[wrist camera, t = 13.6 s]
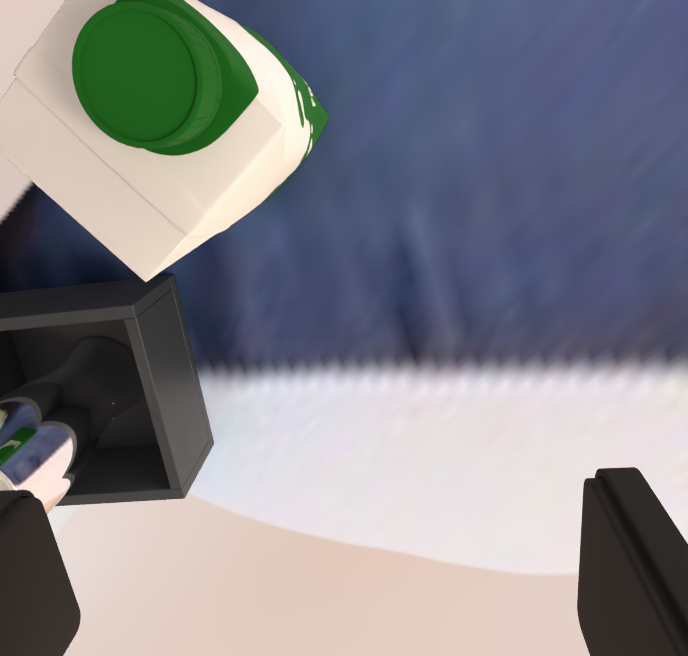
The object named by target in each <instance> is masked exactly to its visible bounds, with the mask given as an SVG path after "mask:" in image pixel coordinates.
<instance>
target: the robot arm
mask: <svg viewBox="0 0 688 656" xmlns="http://www.w3.org/2000/svg"><path fill="white" fill-rule="evenodd" d="M577 609H578V617H579V623H580V627H581V630H582V633H583V636H584V639H585V642H586V645H587V648H588V651H589V653H590V656H688V544H687V542H686V541H685V539H684V538H683V536H682V535H681V533H680V532H679V530H678V529H677V527H676V526H675V524H674V523H673V521H672V520H671V518H670V517H669V515H668V513H667V512H666V510H665V509H664V507H663V506H662V504H661V503H660V501H659V500H658V498H657V497H656V495H655V494H654V492H653V491H652V489H651V488H650V486H649V484H648V483H647V481H646V480H645V478H644V477H643V475H642V474H641V472H640V471H639V470H638V469H637V468H634V467H632V468H605V469H598V470H597V472H596V474H595V478H587V479H585V482H584V489H583V508H582V526H581V545H580V564H579V582H578V601H577ZM79 624H80V609H79V606H78V603H77V600H76V598H75V595H74V592H73V589H72V586H71V583H70V580H69V577H68V574H67V572H66V569H65V566H64V563H63V560H62V557H61V555H60V552H59V549H58V546H57V543H56V540H55V537H54V534H53V531H52V529H51V526H50V523H49V520H48V517H47V514H46V511H45V509H44V506H43V503H42V502H41V500H40V499H38V498H35V496H34V494H33V493H32V492H30V491H28V490H2V491H0V656H63V655H64V653H65V652H66V649H67V648H68V647H69V645H70V643H71V641H72V640H73V638H74V636H75V635H76V633H77V631H78V628H79Z"/></svg>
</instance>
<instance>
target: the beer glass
mask: <svg viewBox="0 0 688 656" xmlns="http://www.w3.org/2000/svg"><path fill="white" fill-rule="evenodd" d="M142 388H143V386H142V383H141V379H140V376H139V372H138V368H137V365H136V361H135V358H134V357H133V355H132V354H131V353H130V352H129V351H128V350H127V349H125V348H124V347H123V346H121V345H119V344H118V343H116V342H114V341H111V340H108V339H104V338H87V339H83V340H80V341H78V342H76V343H75V344H73V345H72V346H71V347H70V348H68V350H67V351H66V352H65V353H64V354H63V356H62V357H61V358H60V360H59V361H58V362H57V364H56V365H55V366H54V367H52V368H51V369H50V370H48V371H47V372H45V373H42V374H40V375H38V376H36V377H34V378H31V379H29V380H26V381H24V382H22V383H20V384H17V385H15V386H13V387H10V388H8V389H6V390H4V391H2V392H0V491H2V490H28V491H30V492H32V493H33V494H34V496H35V498H38V499H40V500H41V502H42V503H43V506H44V509H45V511H46V514H48V513H49V512H50V511H51V510H52V509H53V508H54V507H55V505H56V504H57V503H58V502H59V501H60V500H61V499H62V498H63V497H64V496H65V494H66V493H67V492H68V491H69V489H70V488H71V487H72V485H73V484H74V483H75V482H76V480H77V479H78V478H79V476H80V474H81V473H82V471H83V469H84V468H85V466H86V465H87V463H88V461H89V459H90V458H91V456H92V454H93V452H94V450H95V448H96V446H97V444H98V442H99V440H100V438H101V436H102V434H103V433H104V431H105V429H106V427H107V426H108V425H109V423H110V422H111V421H112V420H113V419H114V418H116V417H117V416H119V415H120V414H122V413H124V412H125V411H127V410H128V409H129V408H131V407H132V406H133V405H134V404H135V403H136V402H137V400H138V399H139V397H140V395H141V392H142Z"/></svg>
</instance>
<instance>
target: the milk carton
mask: <svg viewBox="0 0 688 656" xmlns="http://www.w3.org/2000/svg"><path fill="white" fill-rule="evenodd" d="M14 76H15V77H16V78H15V80H14V81H13V83H12V84H11V86H10V87H9V89H8V90H7V92H6V93H5V94H4V96H3V97H2V99H1V100H0V153H2V154H3V155H4V156H5V157H6V158H7V159H8V160H9V161H11V162H12V163H13V164H14V165H15V166H16V167H17V168H19V170H21V171H22V172H23V173H24V174H25V175H26V176H27V177H28V178H30V179H31V180H32V181H33V182H34V183H35V184H36V185H37V186H38V187H40V188H41V189H42V190H43V191H44V192H45V193H46V194H47V195H49V196H50V197H51V198H52V199H53V200H54V201H55V202H56V203H57V204H59V205H60V206H61V207H62V208H63V209H64V210H65V211H66V212H68V213H69V214H70V215H71V216H72V217H73V218H74V219H75V220H76V221H78V222H79V223H80V224H81V225H82V226H83V227H84V228H85V229H87V230H88V231H89V232H90V233H91V234H92V235H93V236H94V237H95V238H97V239H98V240H99V241H100V242H101V243H102V244H103V245H104V246H106V247H107V248H108V249H109V250H110V251H111V252H112V253H113V254H114V255H116V256H117V257H118V258H119V259H120V260H121V261H122V262H123V263H125V264H126V265H127V266H128V267H129V268H130V269H131V270H132V271H134V272H135V273H136V274H137V275H138V276H139V277H140V278H141V279H143V280H144V281H145V282H147V281H149V280H150V279H151V278H153V277H154V276H155V275H157V274H158V273H159V272H161V271H162V270H164V269H165V268H167V267H168V266H170V265H171V264H173V263H174V262H176V261H177V260H178V259H180V258H181V257H183V256H184V255H186V254H187V253H189V252H190V251H192V250H193V249H195V248H196V247H198V246H199V245H201V244H202V243H203V242H205V241H206V240H208V239H209V238H211V237H212V236H214V235H215V234H217V233H219V232H222V231H224V230H226V229H228V228H229V227H230V226H231V225H232V224H233V223H235V222H236V221H238V220H239V219H241V218H242V217H243V216H245V215H246V214H248V213H249V212H250V211H252V210H253V209H254V208H256V207H257V206H259V205H260V204H261V203H263V202H264V201H265V200H267V199H268V198H269V197H270V196H271V195H272V194H273V193H275V191H276V190H277V189H278V188H279V187H280V186H281V185H282V184H283V183H284V182H285V181H286V180H287V179H288V178H289V176H290V175H291V174H292V173H293V172H294V171H295V170H296V169H297V168H298V166H299V165H300V164H301V163H302V161H303V160H304V159H305V158H306V157H307V155H308V154H309V153H310V151H311V150H312V148H313V146H314V145H315V143H316V141H317V140H318V138H319V136H320V134H321V132H322V131H323V129H324V127H325V125H326V123H327V121H328V120H329V118H330V117H329V115H328V114H327V113H326V111H325V110H324V108H323V107H322V105H321V104H320V102H319V101H318V99H317V98H316V97H315V95H314V94H313V92H312V91H311V89H310V88H309V86H308V85H307V83H306V82H305V81H304V80H303V78H302V77H301V76H300V75H299V74H298V73H297V72H296V71H295V70H294V69H293V67H292V66H291V65H290V64H289V63H288V62H287V61H286V60H285V59H284V58H283V57H282V55H281V54H280V53H279V52H278V51H277V50H276V49H275V48H274V47H273V46H272V45H271V44H270V43H269V42H268V41H267V40H266V39H265V38H263V37H262V36H261V35H260V34H258V33H256V32H255V31H253V30H251V29H249V28H247V27H245V26H244V25H242V24H240V23H238V22H236V21H234V20H232V19H230V18H229V17H227V16H225V15H223V14H221V13H219V12H217V11H215V10H214V9H212V8H210V7H208V6H206V5H204V4H203V3H201V2H199V1H198V0H65V2H64V3H63V4H62V6H61V7H60V9H59V10H58V12H57V13H56V15H55V16H54V17H53V19H52V20H51V22H50V23H49V24H48V26H47V27H46V29H45V30H44V32H43V33H42V34H41V36H40V37H39V39H38V40H37V42H36V44H35V45H34V46H33V47H31V48H30V49H29V50H28V52H27V53H26V54H25V56H24V57H23V59H22V60H21V62H20V63H19V65H18V66H17V68H16V69H15V71H14Z"/></svg>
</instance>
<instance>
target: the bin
mask: <svg viewBox="0 0 688 656" xmlns="http://www.w3.org/2000/svg"><path fill="white" fill-rule="evenodd" d="M87 338H104V339H108V340H111V341H114V342H116V343H118V344H119V345H121V346H123V347H124V348H125V349H127V350H128V351H129V352H130V353H131V354H132V355H133V357H134V358H135V361H136V365H137V368H138V372H139V376H140V379H141V383H142V386H143V388H142V392H141V395H140V397H139V399H138V400H137V402H136V403H135V404H134V405H133V406H132V407H131V408H129V409H128V410H127V411H125V412H124V413H122V414H120V415H119V416H117V417H116V418H114V419H113V420H112V421H111V422H110V423H109V425H108V426H107V427H106V429H105V431H104V433H103V434H102V436H101V438H100V440H99V442H98V444H97V446H96V448H95V450H94V452H93V454H92V456H91V458H90V459H89V461H88V463H87V465H86V466H85V468H84V469H83V471H82V473H81V474H80V476H79V478H78V479H77V480H76V482H75V483H74V484H73V485H72V487H71V488H70V489H69V491H68V492H67V493H66V494H65V496H64V497H63V498H62V499H61V500H60V501H59V502H58V503H57V504H56V505H55V506H65V505H82V504H99V503H116V502H132V501H149V500H166V499H183V498H185V496H186V495H187V493H188V491H189V489H190V487H191V485H192V483H193V482H194V480H195V478H196V476H197V474H198V472H199V471H200V469H201V467H202V465H203V463H204V461H205V459H206V458H207V456H208V454H209V452H210V450H211V448H212V446H213V445H214V441H213V437H212V433H211V429H210V425H209V420H208V416H207V412H206V408H205V404H204V400H203V395H202V391H201V387H200V383H199V379H198V374H197V370H196V366H195V362H194V358H193V353H192V349H191V345H190V341H189V337H188V333H187V328H186V324H185V320H184V316H183V312H182V307H181V303H180V299H179V295H178V291H177V286H176V282H175V278H174V275H173V274H171V275H161V276H154V277H153V278H151V279H150V280H149V281H147V282H145V281H144V280H143V279H141V278H134V279H125V280H116V281H107V282H98V283H88V284H79V285H70V286H61V287H52V288H43V289H34V290H25V291H15V292H6V293H0V392H2V391H4V390H6V389H8V388H10V387H13V386H15V385H17V384H20V383H22V382H24V381H26V380H29V379H31V378H34V377H36V376H38V375H40V374H42V373H45V372H47V371H48V370H50V369H51V368H52V367H54V366H55V365H56V364H57V362H58V361H59V360H60V358H61V357H62V356H63V354H64V353H65V352H66V351H67V350H68V348H70V347H71V346H72V345H73V344H75V343H76V342H78V341H80V340H83V339H87Z"/></svg>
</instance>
